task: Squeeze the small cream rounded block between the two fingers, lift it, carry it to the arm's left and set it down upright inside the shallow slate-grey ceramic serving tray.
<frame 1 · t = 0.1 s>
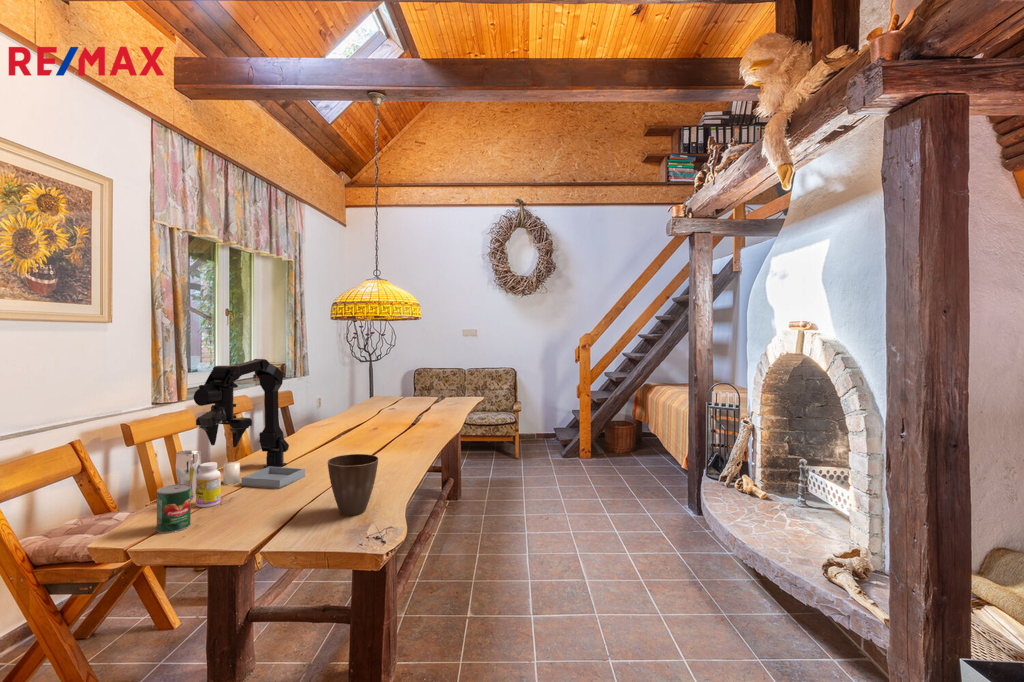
hand: (223, 446, 173), 14 cm above the table, fingers open, 9 cm apart
supplement bottle: (208, 505, 156), on the table
tray: (274, 481, 181), on the table
cream rounded block: (231, 482, 179), on the table
plant pot: (352, 511, 152), on the table
canned tomato: (173, 528, 138), on the table
beer glass: (188, 498, 162), on the table
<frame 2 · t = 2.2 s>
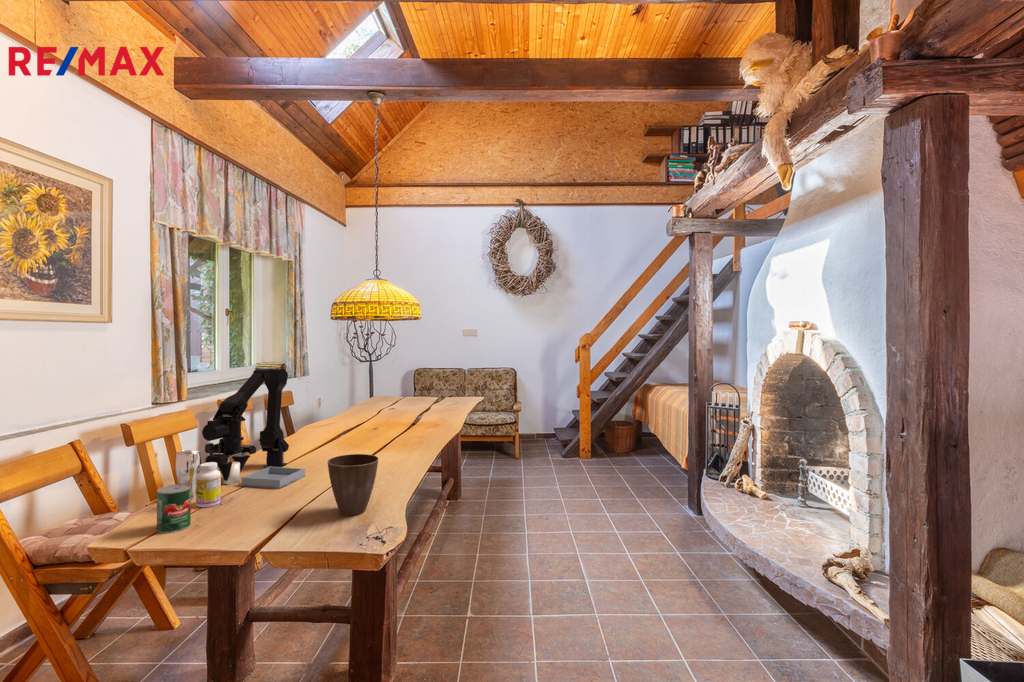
hand: (231, 478, 178), 2 cm above the table, fingers closed on cream rounded block, 5 cm apart
cream rounded block: (231, 482, 179), on the table, touching gripper
everything else where it was.
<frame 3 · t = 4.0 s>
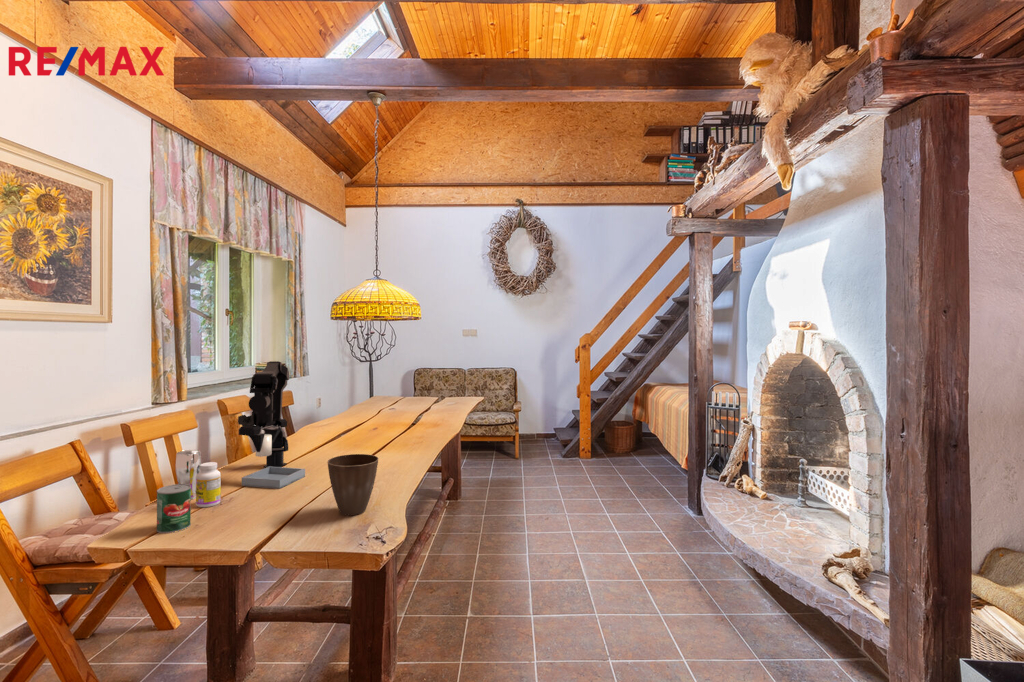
hand: (263, 450, 180), 11 cm above the table, fingers closed on cream rounded block, 5 cm apart
cream rounded block: (263, 454, 180), point 10 cm above the table, touching gripper
everything else where it was.
when the fingers open (4 cm above the table, at t = 6.1 s): cream rounded block drops 2 cm, resting on tray.
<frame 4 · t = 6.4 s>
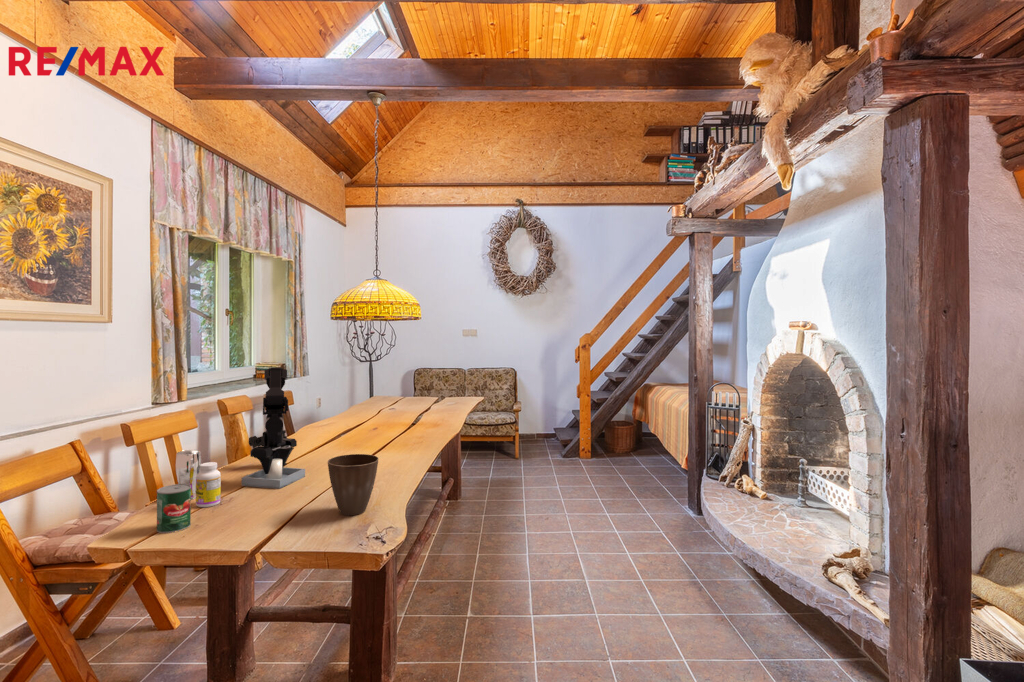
hand: (274, 470, 181), 4 cm above the table, fingers open, 8 cm apart
cream rounded block: (274, 479, 181), point 1 cm above the table, touching tray
everything else where it was.
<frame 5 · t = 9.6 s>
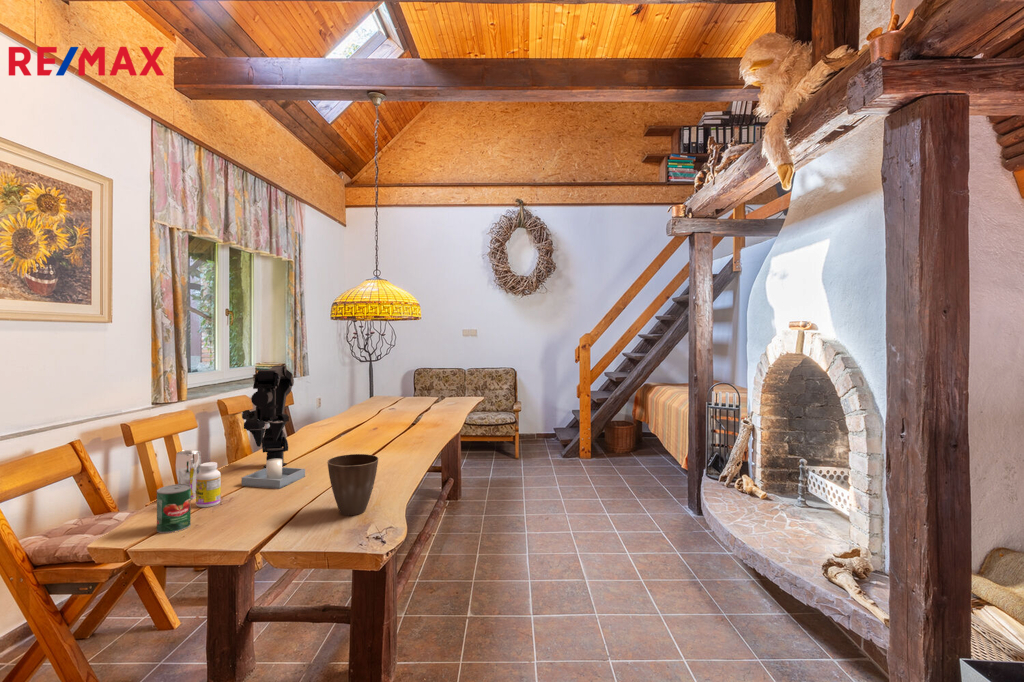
hand: (267, 443, 188), 12 cm above the table, fingers open, 9 cm apart
nothing on the table moved.
at the end: cream rounded block inside the target area on the tray (0.0 cm from its centre), point 0.7 cm above the tray's base; cream rounded block tilted 1°; the gripper is holding nothing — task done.
